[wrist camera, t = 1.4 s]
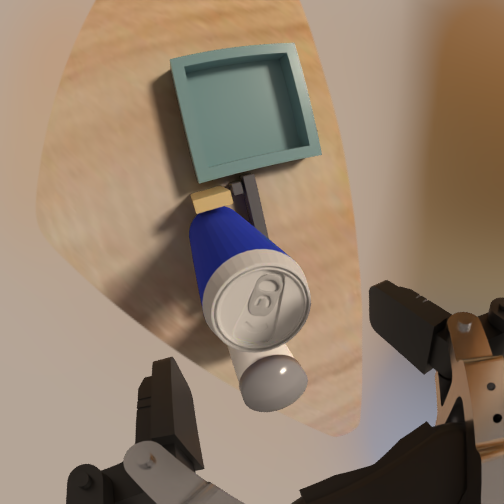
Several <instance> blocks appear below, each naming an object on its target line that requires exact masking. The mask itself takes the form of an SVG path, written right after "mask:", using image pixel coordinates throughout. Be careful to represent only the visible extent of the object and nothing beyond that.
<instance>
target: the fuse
mask: <svg viewBox="0 0 504 504" xmlns="http://www.w3.org/2000/svg"><path fill="white" fill-rule="evenodd" d="M227 347H228V350H229V353H230V356H231V359H232V363H233V366H234V369H235V372H236V375H237V378H238V381H239V388H240V391H241V394H242V397H243V400H244V402H245V404H246V405H247V406H248V407H249V408H250V409H252V410H255V411H259V412H272V411H277V410H280V409H283V408H285V407H287V406H289V405H291V404H292V403H294V402H295V401H296V400H297V399H298V398H299V397H300V396H301V395H302V394H303V393H304V391H305V389H306V387H307V382H308V379H307V375H306V373H305V372H304V370H303V368H302V367H301V365H300V364H299V362H298V361H297V360H296V359H295V358H294V357H293V355H292V354H291V352H290V350H289V349H288V347H287V346H286V344H283V345H281V346H279V347H277V348H275V349H272V350H269V351H265V352H257V353H254V352H243V351H239V350H236V349H234V348H232V347H230V346H228V345H227Z"/></svg>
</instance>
